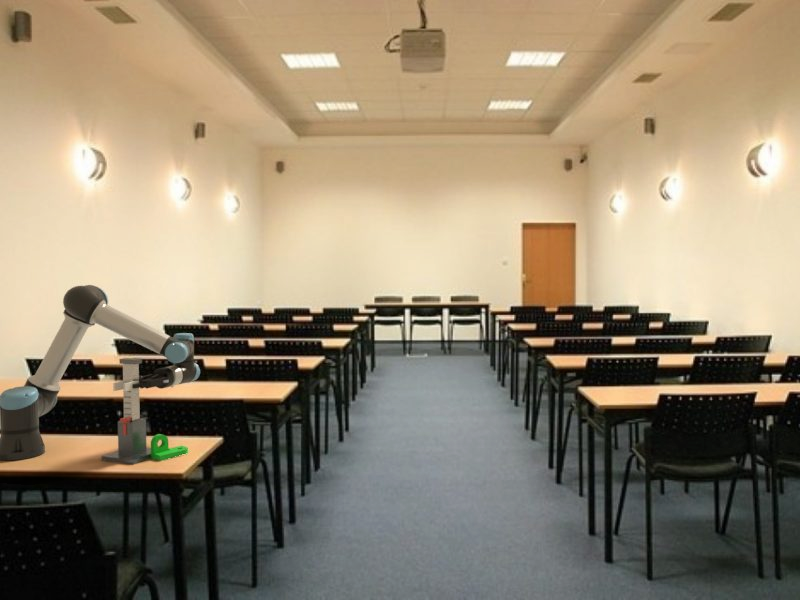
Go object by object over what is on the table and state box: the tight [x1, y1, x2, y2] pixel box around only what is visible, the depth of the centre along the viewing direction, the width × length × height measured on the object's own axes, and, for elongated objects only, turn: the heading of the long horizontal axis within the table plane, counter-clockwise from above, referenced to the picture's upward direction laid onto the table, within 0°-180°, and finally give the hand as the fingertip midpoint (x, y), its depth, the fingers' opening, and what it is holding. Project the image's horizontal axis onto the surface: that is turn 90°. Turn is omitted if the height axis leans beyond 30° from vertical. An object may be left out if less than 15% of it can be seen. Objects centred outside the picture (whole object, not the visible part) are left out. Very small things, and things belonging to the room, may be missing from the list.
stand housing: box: [100, 417, 152, 465], centre depth 220 cm, size 14×14×14 cm
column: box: [118, 357, 143, 422], centre depth 219 cm, size 7×4×28 cm, turn 70°
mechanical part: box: [150, 433, 189, 462], centre depth 221 cm, size 12×6×8 cm, turn 141°
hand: (119, 387), depth 214 cm, fingers closed on column, 4 cm apart
